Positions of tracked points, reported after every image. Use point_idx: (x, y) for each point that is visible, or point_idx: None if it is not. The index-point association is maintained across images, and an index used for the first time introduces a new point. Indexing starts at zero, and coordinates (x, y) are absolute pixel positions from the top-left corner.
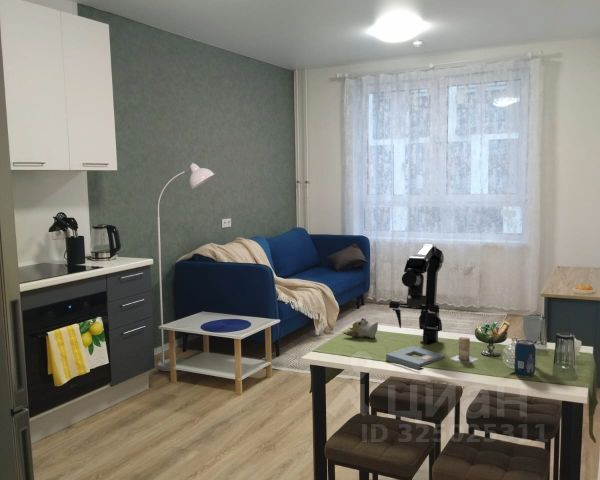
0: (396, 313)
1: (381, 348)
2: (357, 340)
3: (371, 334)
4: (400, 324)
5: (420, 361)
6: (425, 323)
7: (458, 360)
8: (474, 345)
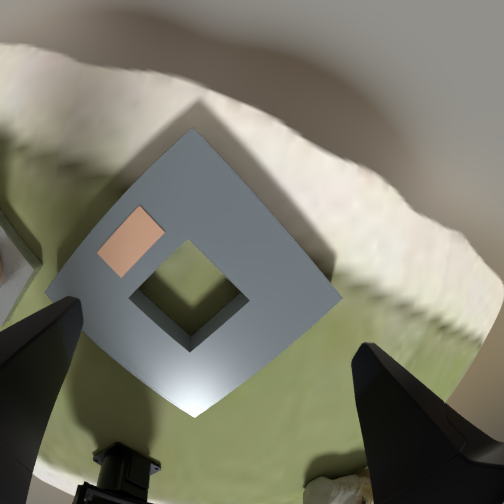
0: (501, 444)
1: (312, 417)
2: (361, 455)
3: (324, 482)
4: (386, 365)
5: (174, 174)
6: (23, 342)
7: (4, 241)
8: None
